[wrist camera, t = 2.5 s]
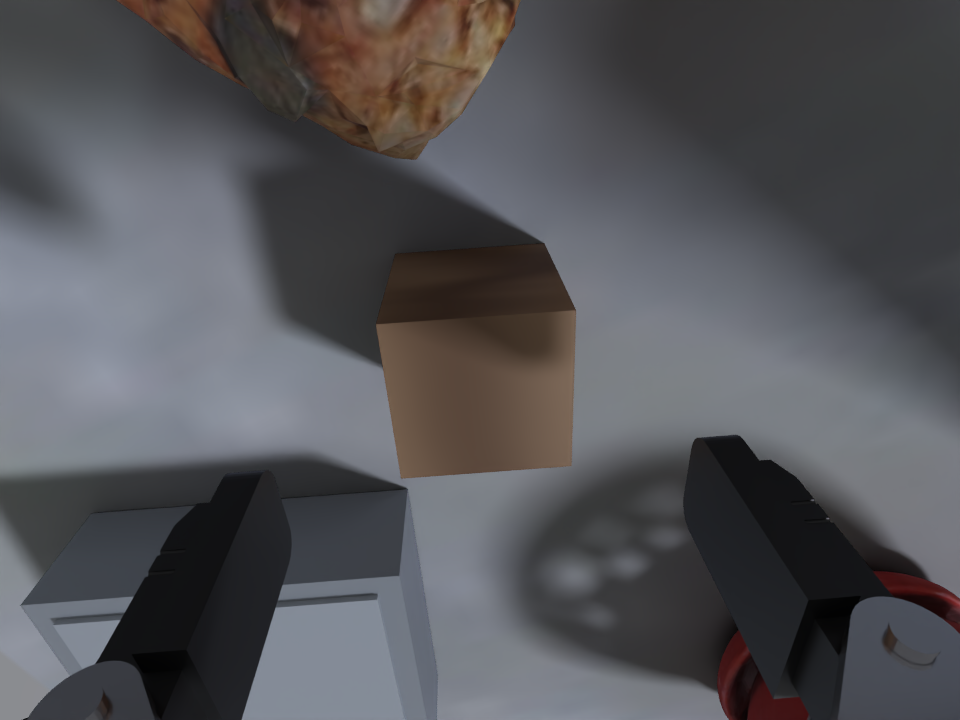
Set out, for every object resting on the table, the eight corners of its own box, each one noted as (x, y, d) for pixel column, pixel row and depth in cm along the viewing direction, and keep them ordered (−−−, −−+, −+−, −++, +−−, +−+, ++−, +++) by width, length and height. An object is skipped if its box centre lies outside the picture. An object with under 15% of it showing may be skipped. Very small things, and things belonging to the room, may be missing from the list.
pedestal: (407, 489, 21) (398, 581, 18) (437, 675, 27) (436, 773, 24) (91, 513, 21) (16, 610, 17) (190, 695, 27) (149, 797, 23)
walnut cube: (543, 242, 17) (576, 310, 13) (543, 370, 19) (571, 466, 15) (395, 253, 17) (375, 324, 12) (412, 380, 19) (401, 478, 15)
